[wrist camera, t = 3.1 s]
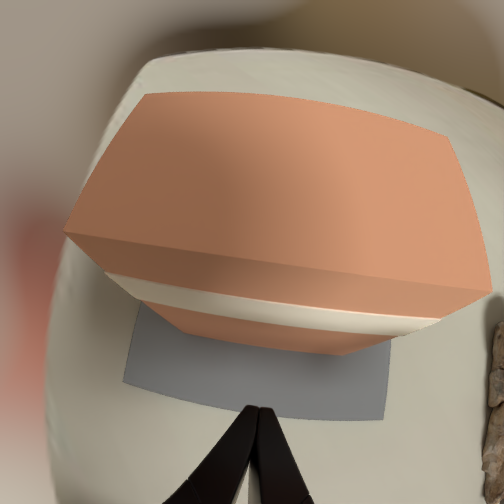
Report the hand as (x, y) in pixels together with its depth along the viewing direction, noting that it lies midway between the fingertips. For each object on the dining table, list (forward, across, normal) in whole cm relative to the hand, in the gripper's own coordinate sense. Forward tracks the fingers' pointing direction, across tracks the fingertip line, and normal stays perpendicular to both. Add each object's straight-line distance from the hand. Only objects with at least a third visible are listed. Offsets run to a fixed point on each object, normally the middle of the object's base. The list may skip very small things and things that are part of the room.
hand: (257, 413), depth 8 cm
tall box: (+9, 0, +1) cm, 9 cm away
